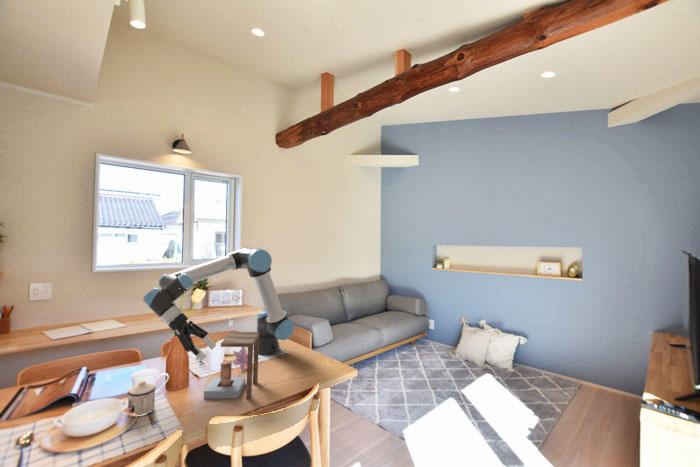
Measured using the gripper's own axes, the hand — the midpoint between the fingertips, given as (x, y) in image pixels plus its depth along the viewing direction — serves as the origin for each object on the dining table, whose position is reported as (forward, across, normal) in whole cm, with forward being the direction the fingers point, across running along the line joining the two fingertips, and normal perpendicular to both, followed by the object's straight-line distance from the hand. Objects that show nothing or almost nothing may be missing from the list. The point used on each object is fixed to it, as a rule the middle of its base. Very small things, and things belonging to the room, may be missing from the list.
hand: (209, 353), depth 147 cm
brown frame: (+21, 0, -2) cm, 21 cm away
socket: (+17, 0, -6) cm, 18 cm away
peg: (+17, 0, -6) cm, 18 cm away
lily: (+18, -24, -6) cm, 31 cm away
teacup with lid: (-1, +18, -25) cm, 31 cm away
